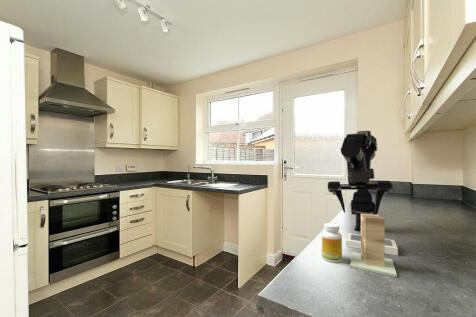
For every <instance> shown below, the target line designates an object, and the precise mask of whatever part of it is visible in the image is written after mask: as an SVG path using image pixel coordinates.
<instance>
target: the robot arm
mask: <svg viewBox="0 0 476 317" xmlns="http://www.w3.org/2000/svg"><path fill="white" fill-rule="evenodd" d="M345 136H346V137H344V139H343V141H342V145H341V147H340V153H341V156H343V159H344V160H345V161H346V169H347V183H341V181H328V182H327V190H328V192H329V193H332V195H334V196H336V197H337V200H338V201H339V204H340V205H341V209H342V211H343V213H346V206H345V202H344V197H343V193H342V192H343V191H345V190H347V191H348V190H349V191H351V190H354V193H353V194H352V195H353V196H352V199H351V201H350V210H351V211H350V212H351V215H354V216H355V225H354V231H359V232H361V214H374V215H379V210H380V207H381V206H380V205H381V201H382V199H383V197H384V196H386V195H387V194H388V193H392V191H393V190H394V187H393V183H392V181H391V180H376V183H371V180H374V179H375V171H374V168H372V167H371V166H372V163H371V162H372V160H373V159H375V157H376V152H378V141H377V138H376V137H375V136H373V135H372V131H371V130H358V131H357V132H356V133H347V134H346V135H345ZM342 190H343V191H342ZM355 190H356V191H355ZM370 190H371V191H372V190H373V191H374V190H376V192H375V195H374V196H375V198H373V195H372V194H371V193H370ZM374 199H375V201H374Z"/></svg>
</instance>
